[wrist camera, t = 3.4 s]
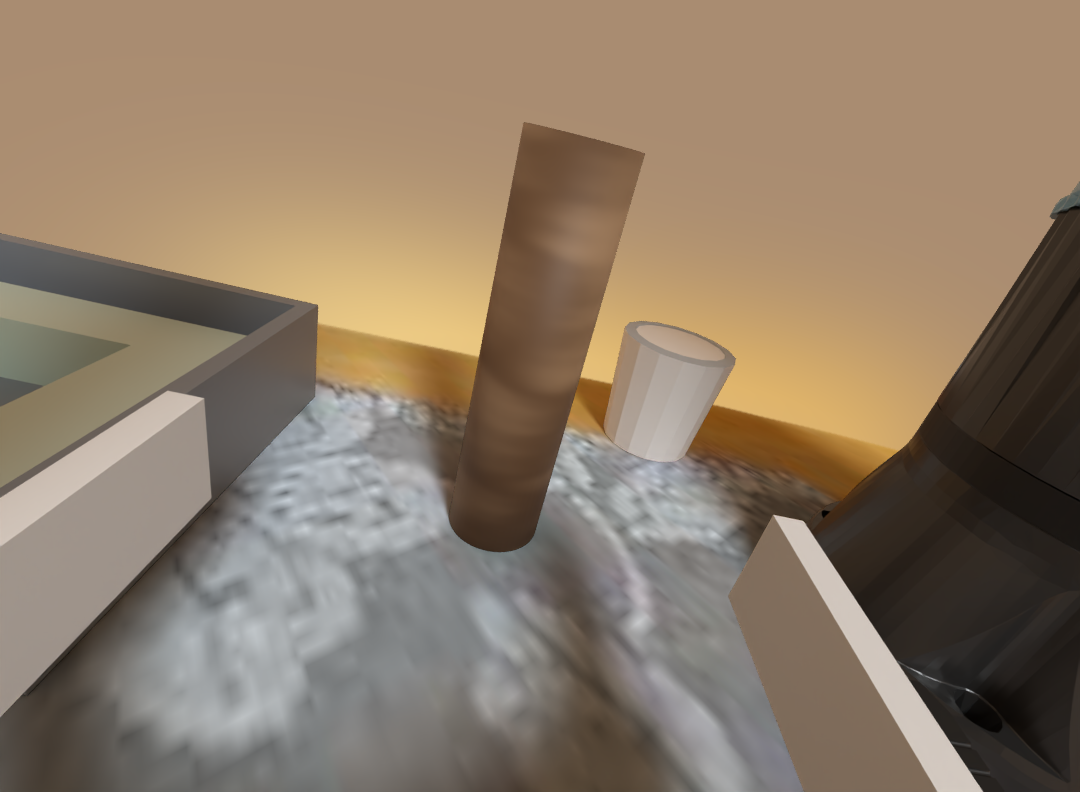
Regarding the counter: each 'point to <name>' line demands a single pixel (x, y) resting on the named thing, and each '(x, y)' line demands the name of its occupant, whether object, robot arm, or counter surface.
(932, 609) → the robot arm
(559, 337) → the peg
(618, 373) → the white cup
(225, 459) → the open box
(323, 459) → the counter surface
